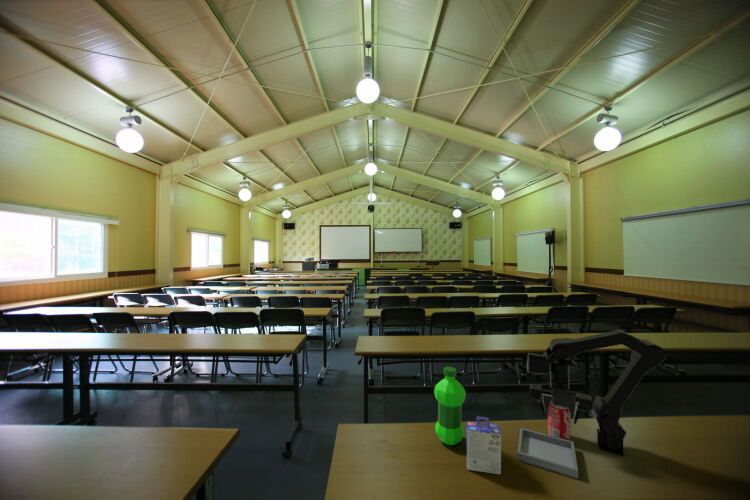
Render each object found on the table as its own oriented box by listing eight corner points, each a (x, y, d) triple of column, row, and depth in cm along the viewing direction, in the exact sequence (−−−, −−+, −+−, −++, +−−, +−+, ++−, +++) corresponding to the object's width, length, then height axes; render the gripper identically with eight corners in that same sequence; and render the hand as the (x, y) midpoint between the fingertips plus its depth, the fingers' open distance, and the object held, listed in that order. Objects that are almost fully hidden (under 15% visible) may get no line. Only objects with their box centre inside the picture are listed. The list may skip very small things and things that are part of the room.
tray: (573, 449, 101) (573, 441, 101) (578, 479, 88) (578, 470, 88) (520, 434, 109) (520, 427, 109) (517, 460, 96) (517, 452, 96)
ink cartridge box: (498, 462, 95) (498, 416, 95) (502, 475, 89) (502, 427, 89) (465, 458, 97) (466, 413, 97) (467, 470, 91) (467, 422, 91)
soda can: (568, 434, 109) (569, 401, 109) (572, 446, 103) (572, 410, 103) (546, 429, 112) (546, 397, 112) (548, 440, 106) (548, 406, 106)
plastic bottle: (430, 444, 103) (430, 371, 103) (440, 428, 112) (441, 361, 112) (459, 454, 98) (460, 378, 98) (468, 437, 107) (468, 367, 107)
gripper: (529, 379, 105) (528, 424, 105) (595, 391, 95) (594, 440, 96) (530, 367, 114) (530, 408, 114) (590, 378, 105) (590, 422, 105)
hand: (559, 419), depth 107 cm, fingers open, 9 cm apart
